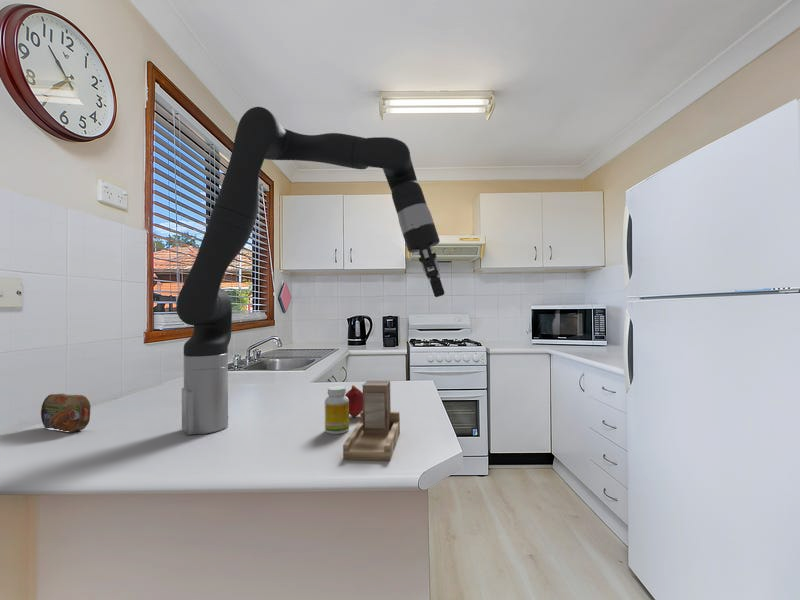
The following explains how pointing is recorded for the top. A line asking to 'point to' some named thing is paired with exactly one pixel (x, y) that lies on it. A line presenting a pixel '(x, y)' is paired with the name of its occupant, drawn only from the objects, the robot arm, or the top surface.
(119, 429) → the top surface
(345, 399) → the supplement bottle
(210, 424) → the robot arm
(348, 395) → the onion
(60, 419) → the tin
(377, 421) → the wooden box stand
